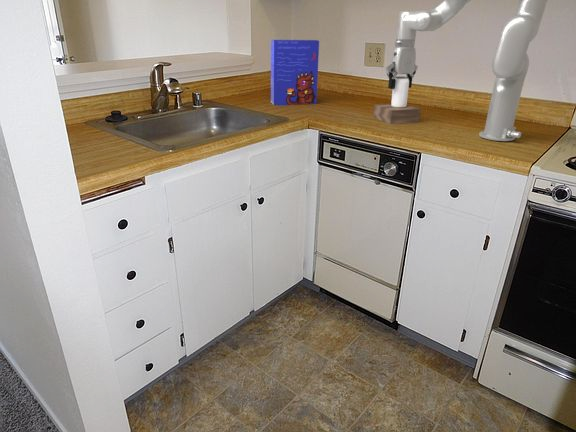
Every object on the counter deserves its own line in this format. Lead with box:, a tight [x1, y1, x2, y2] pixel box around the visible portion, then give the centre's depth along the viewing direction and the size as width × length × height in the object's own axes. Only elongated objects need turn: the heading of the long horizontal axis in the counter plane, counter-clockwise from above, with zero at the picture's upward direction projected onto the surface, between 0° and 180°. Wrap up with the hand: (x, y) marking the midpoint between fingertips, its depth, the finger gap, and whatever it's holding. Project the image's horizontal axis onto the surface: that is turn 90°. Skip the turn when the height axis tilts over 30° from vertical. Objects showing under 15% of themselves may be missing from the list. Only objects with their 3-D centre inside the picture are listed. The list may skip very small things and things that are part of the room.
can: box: [390, 76, 410, 108], centre depth 183 cm, size 6×6×12 cm
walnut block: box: [372, 103, 422, 125], centre depth 187 cm, size 14×14×6 cm
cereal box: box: [270, 39, 320, 106], centre depth 210 cm, size 22×6×30 cm, turn 105°
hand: (399, 87), depth 183 cm, fingers open, 9 cm apart
